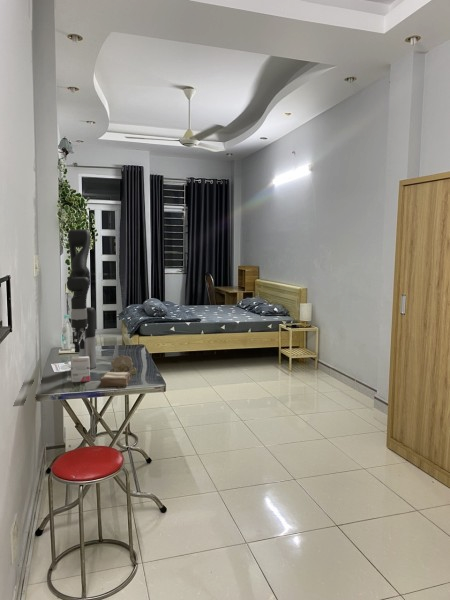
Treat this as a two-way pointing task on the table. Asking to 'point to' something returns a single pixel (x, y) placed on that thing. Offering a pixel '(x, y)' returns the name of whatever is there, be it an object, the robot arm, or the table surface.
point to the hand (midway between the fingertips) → (79, 350)
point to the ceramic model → (123, 365)
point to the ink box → (80, 369)
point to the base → (115, 379)
